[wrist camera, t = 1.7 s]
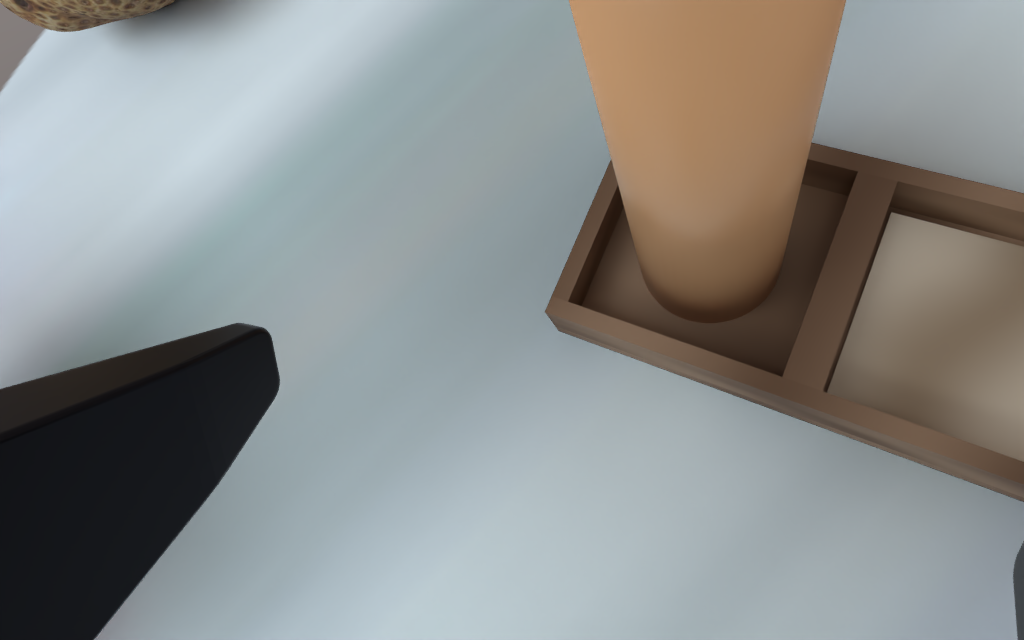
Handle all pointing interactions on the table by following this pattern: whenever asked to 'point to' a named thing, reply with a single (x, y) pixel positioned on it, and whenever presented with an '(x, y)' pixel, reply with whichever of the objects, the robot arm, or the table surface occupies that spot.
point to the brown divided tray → (848, 314)
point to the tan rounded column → (709, 135)
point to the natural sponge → (80, 11)
